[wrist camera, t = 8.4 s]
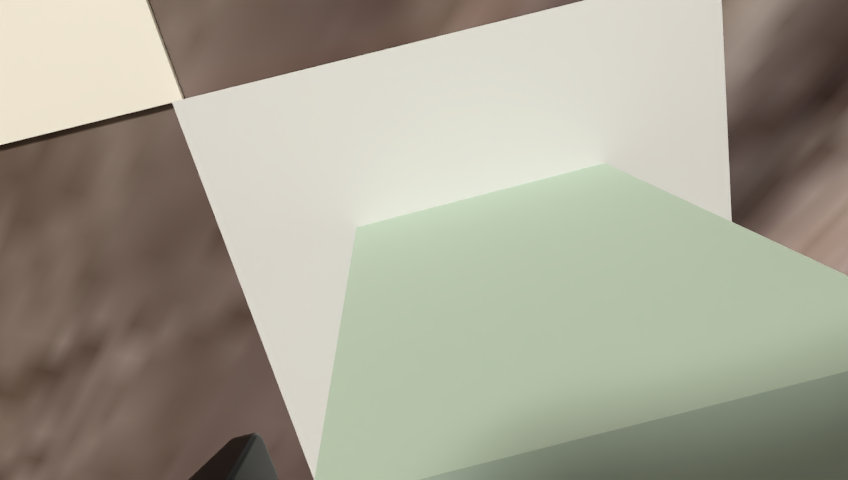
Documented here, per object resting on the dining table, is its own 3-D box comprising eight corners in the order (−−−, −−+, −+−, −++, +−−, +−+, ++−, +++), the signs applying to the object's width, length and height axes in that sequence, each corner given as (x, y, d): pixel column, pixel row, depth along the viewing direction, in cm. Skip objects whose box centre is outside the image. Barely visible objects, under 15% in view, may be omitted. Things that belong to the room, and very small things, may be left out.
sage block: (604, 162, 11) (980, 338, 4) (634, 377, 12) (936, 758, 5) (356, 226, 11) (310, 507, 4) (418, 431, 12) (458, 873, 6)
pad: (701, -28, 10) (720, -33, 10) (727, 441, 14) (742, 458, 13) (183, 99, 10) (171, 101, 10) (344, 533, 14) (341, 554, 13)
